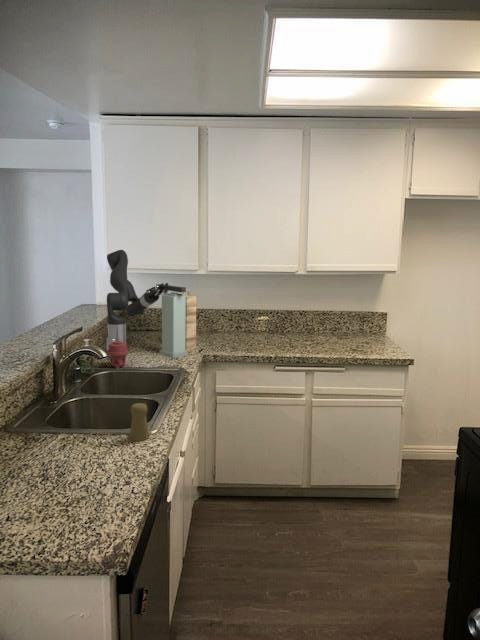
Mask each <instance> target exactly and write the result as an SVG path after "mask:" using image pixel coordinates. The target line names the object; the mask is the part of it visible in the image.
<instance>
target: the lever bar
mask: <svg viewBox="0 0 480 640" xmlns="http://www.w3.org/2000/svg"><path fill="white" fill-rule="evenodd" d="M160 284H161V283H157V284H155V285H156V286H155V287H157V286H159V285H160ZM186 288H187V287H185V286H178V285H169V284H168V285H165V284H164V287H163V288H162V289H161V290H168V292H175V293H186V292H187V291H186V290H187V289H186Z"/></svg>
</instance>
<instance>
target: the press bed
mask: <svg viewBox="0 0 480 640" xmlns="http://www.w3.org/2000/svg"><path fill="white" fill-rule="evenodd" d="M184 296H186V309H185V351H191V350H195V349H197V296H196V295H190V294H184ZM190 349H191V350H190Z"/></svg>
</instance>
